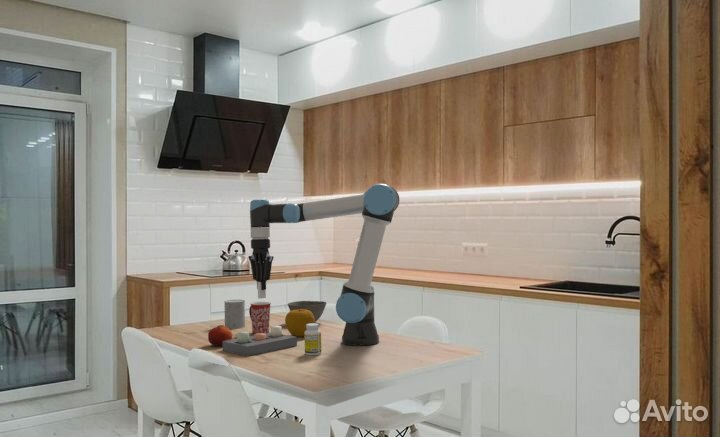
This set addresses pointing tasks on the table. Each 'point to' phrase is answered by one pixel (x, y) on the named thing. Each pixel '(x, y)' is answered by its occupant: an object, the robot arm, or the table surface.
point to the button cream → (276, 331)
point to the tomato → (219, 335)
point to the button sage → (243, 337)
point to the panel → (259, 345)
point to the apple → (298, 321)
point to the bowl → (309, 307)
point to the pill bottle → (312, 339)
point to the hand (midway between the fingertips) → (261, 298)
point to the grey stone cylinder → (234, 314)
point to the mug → (260, 317)
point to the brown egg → (260, 336)
